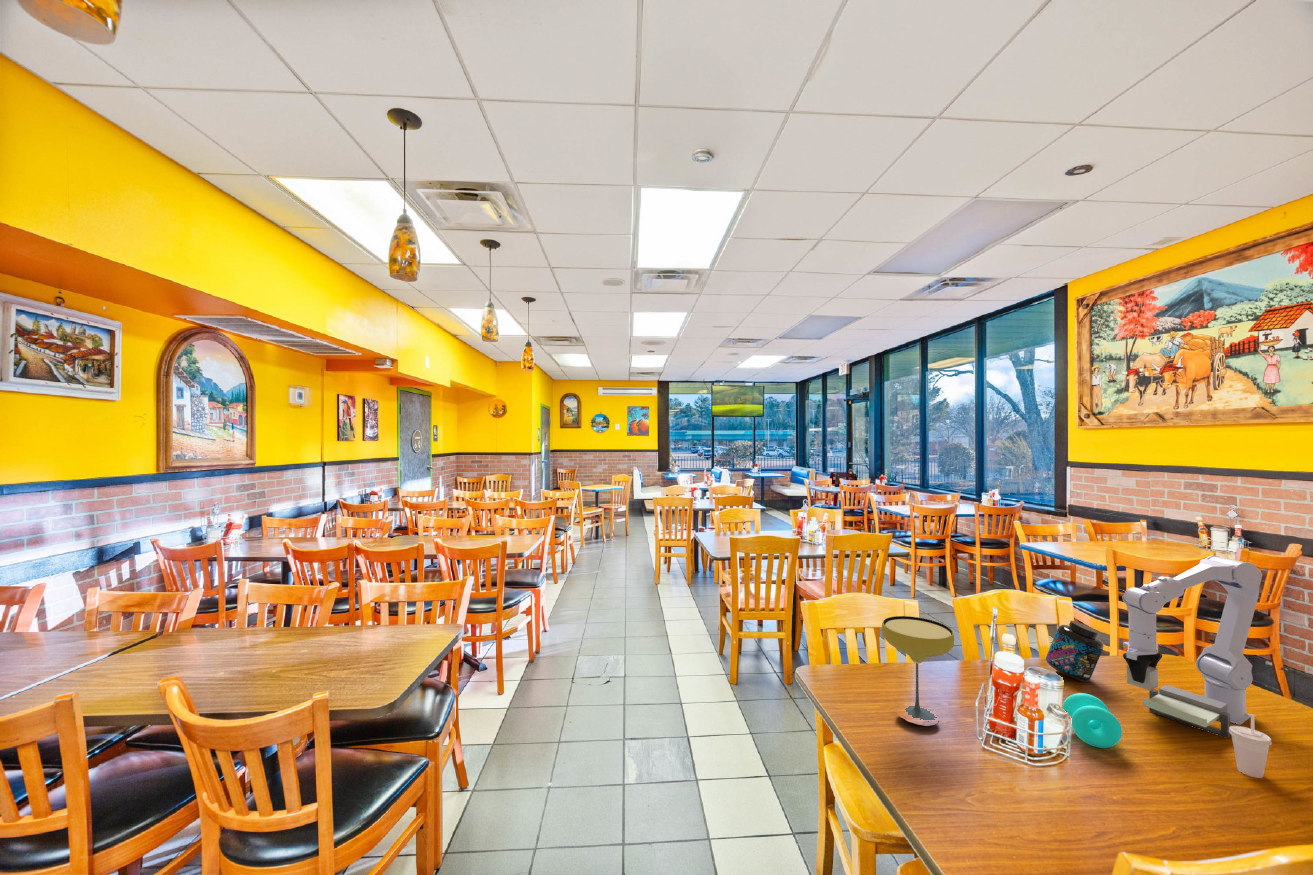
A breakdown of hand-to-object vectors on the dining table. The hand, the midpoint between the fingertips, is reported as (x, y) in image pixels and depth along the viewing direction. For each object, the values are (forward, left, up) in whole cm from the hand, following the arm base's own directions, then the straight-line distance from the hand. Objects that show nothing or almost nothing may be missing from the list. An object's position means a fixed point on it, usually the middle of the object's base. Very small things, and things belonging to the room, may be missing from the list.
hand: (1142, 679), depth 143 cm
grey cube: (0, 0, -2) cm, 2 cm away
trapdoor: (-3, +8, -4) cm, 10 cm away
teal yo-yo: (+29, -1, -10) cm, 30 cm away
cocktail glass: (+59, -29, -10) cm, 66 cm away
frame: (-3, +8, -9) cm, 13 cm away
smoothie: (+14, +23, -10) cm, 29 cm away
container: (-8, -20, -10) cm, 24 cm away
